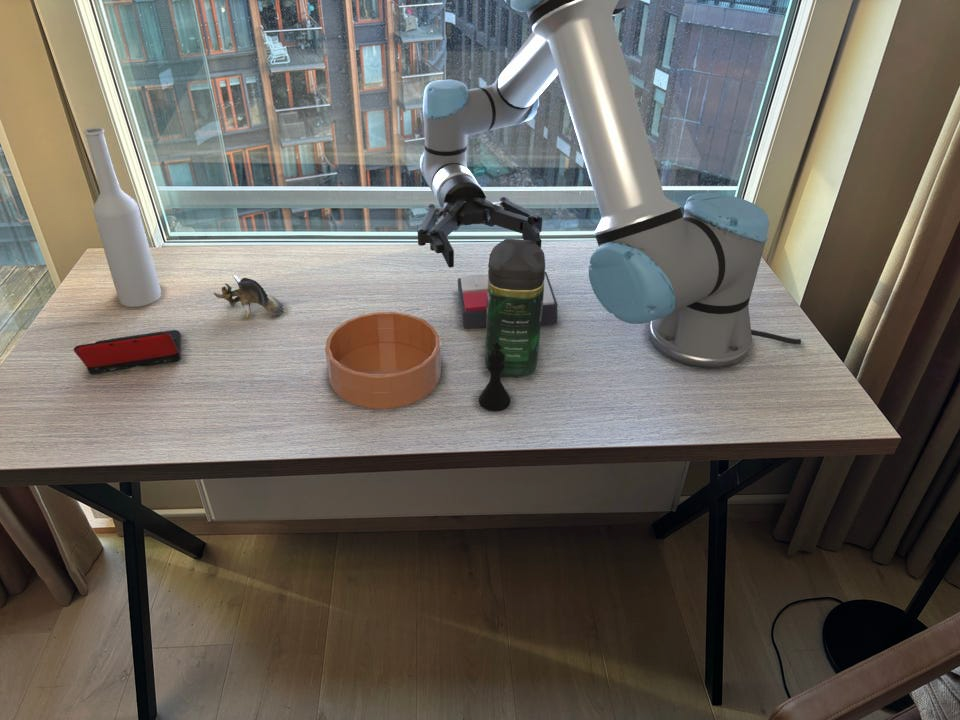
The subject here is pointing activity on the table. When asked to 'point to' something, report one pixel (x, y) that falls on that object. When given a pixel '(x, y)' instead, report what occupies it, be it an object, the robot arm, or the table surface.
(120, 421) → the table surface
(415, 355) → the pot
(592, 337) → the table surface
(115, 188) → the bottle
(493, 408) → the chess piece
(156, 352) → the handheld console
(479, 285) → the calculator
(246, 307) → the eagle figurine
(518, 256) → the coffee jar
